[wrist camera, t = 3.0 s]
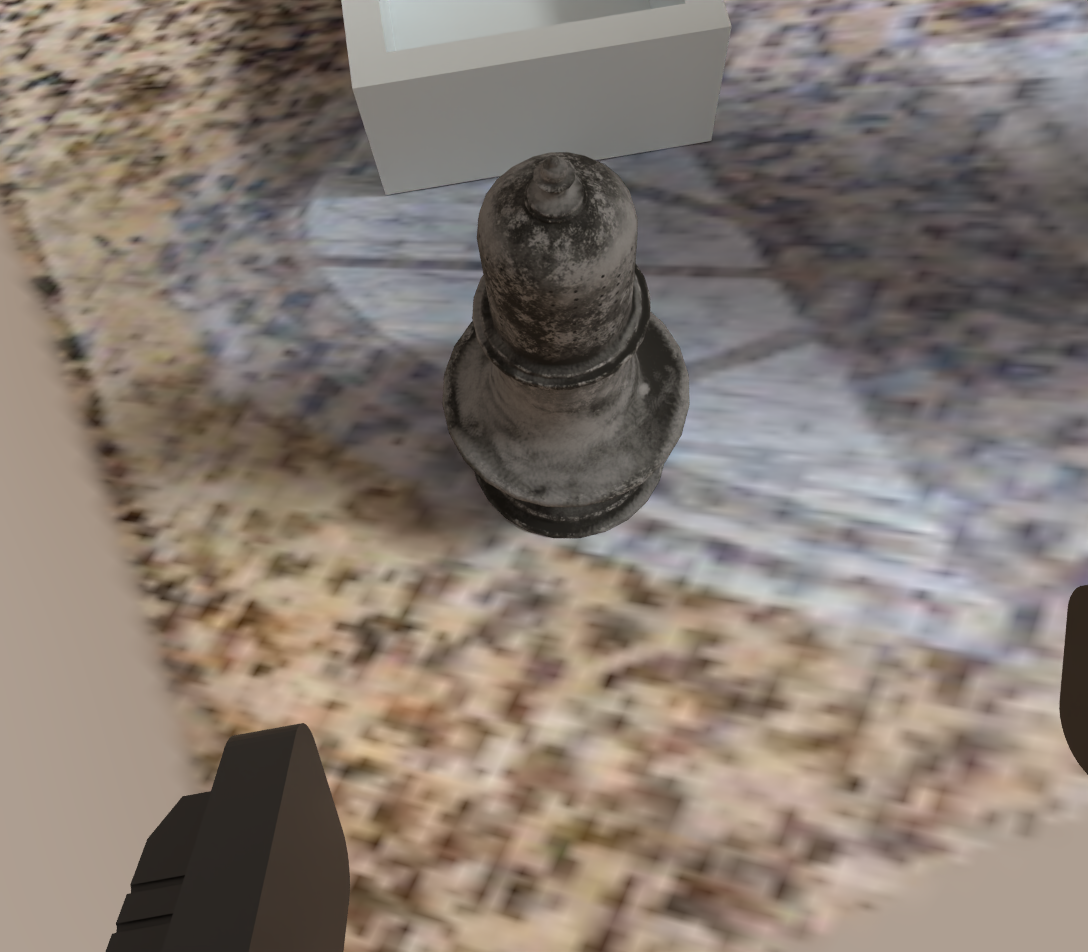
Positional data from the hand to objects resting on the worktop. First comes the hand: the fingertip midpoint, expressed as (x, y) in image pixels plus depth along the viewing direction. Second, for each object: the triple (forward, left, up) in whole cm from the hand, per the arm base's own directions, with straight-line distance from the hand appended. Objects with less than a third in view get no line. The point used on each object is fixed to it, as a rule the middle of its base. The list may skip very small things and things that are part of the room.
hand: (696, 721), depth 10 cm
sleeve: (-1, -23, -14) cm, 27 cm away
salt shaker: (0, -9, -14) cm, 17 cm away
